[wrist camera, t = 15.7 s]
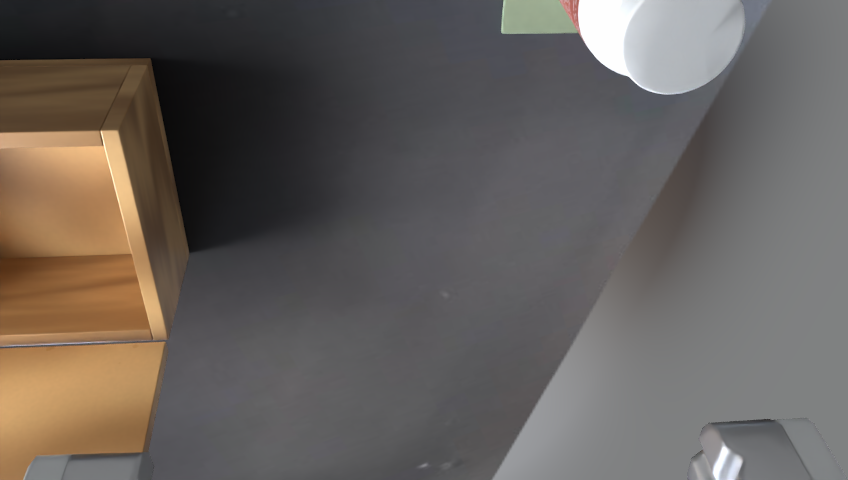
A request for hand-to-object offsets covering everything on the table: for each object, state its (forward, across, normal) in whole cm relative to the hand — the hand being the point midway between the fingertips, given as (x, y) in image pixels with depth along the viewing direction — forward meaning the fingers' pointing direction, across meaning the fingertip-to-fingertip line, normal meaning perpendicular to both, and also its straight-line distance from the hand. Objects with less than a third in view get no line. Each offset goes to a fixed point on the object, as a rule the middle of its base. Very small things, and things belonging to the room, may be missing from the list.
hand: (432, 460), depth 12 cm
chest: (+31, +18, +14) cm, 39 cm away
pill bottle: (+31, -11, +2) cm, 33 cm away
